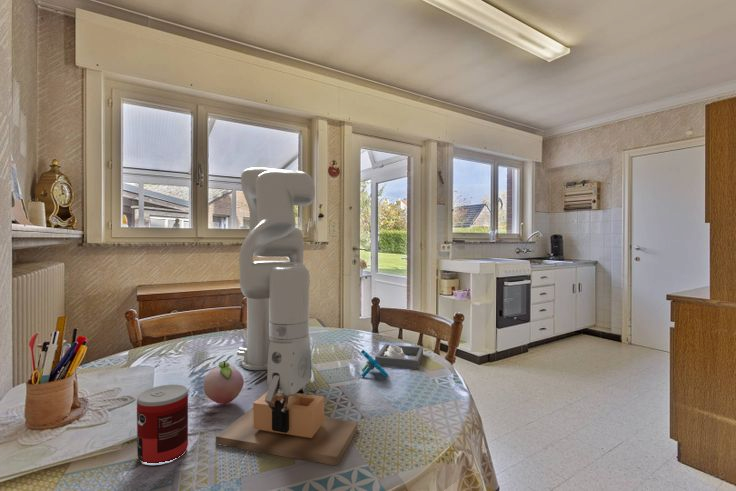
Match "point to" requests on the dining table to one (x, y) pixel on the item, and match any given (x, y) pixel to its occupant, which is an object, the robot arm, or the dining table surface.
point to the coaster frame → (400, 361)
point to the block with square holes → (292, 414)
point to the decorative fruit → (223, 383)
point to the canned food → (162, 423)
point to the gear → (371, 365)
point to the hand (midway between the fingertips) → (289, 420)
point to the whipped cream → (394, 352)
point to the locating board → (291, 440)
